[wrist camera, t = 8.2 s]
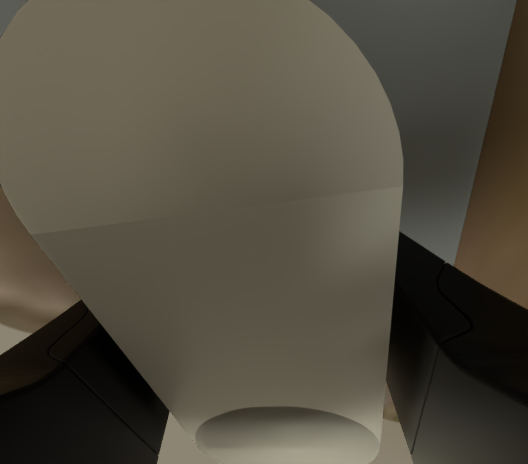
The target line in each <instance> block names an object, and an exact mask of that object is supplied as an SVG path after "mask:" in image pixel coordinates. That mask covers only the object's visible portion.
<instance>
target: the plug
mask: <svg viewBox="0 0 528 464" xmlns="http://www.w3.org/2000/svg"><path fill="white" fill-rule="evenodd" d="M0 184H1V187H2V189H3V191H4V194H5V196H6V197H7V199H8V201H9V203H10V205H11V206H12V208H13V210H14V212H15V213H16V215H17V217H18V218H19V219H20V221H21V222H22V224H23V225H24V226H25V228H26V229H27V231H28V232H29V233H30V235H31V236H32V237H33V239H34V240H35V241H36V242H37V244H38V245H39V246H40V248H41V249H42V250H43V251H44V253H45V254H46V255H47V256H48V258H49V259H50V260H51V261H52V263H53V264H54V265H55V267H56V268H57V269H58V270H59V272H60V273H61V274H62V275H63V277H64V278H65V279H66V280H67V282H68V283H69V284H70V285H71V287H72V288H73V289H74V291H75V292H76V293H77V294H78V296H79V297H80V298H81V299H82V301H83V302H84V303H85V304H86V306H87V307H88V308H89V310H90V311H91V312H92V313H93V315H94V316H95V317H96V318H97V320H98V321H99V322H100V323H101V325H102V326H103V327H104V329H105V330H106V331H107V332H108V334H109V335H110V336H111V337H112V339H113V340H114V341H115V342H116V344H117V345H118V346H119V348H120V349H121V350H122V351H123V353H124V354H125V355H126V356H127V358H128V359H129V360H130V361H131V363H132V364H133V365H134V367H135V368H136V369H137V370H138V372H139V373H140V374H141V375H142V377H143V378H144V379H145V380H146V382H147V383H148V384H149V385H150V387H151V388H152V389H153V391H154V392H155V393H156V394H157V396H158V397H159V398H160V399H161V401H162V402H163V403H164V404H165V406H166V407H167V408H168V410H169V411H170V412H171V413H172V415H173V416H174V417H175V418H176V419H177V421H178V422H179V423H180V425H181V426H182V427H183V429H184V430H185V431H186V432H187V434H188V435H189V436H190V437H191V438H192V440H193V441H194V442H195V444H196V445H197V446H198V447H199V449H200V450H201V451H202V452H203V453H204V454H206V455H207V456H208V457H210V458H211V459H213V460H215V461H217V462H219V463H221V464H369V463H370V462H371V461H373V459H375V458H376V456H377V455H378V453H379V449H380V441H381V429H382V418H383V407H384V396H385V384H386V373H387V362H388V351H389V339H390V328H391V317H392V305H393V294H394V283H395V272H396V260H397V249H398V238H399V227H400V215H401V204H402V193H403V154H402V147H401V140H400V133H399V130H398V126H397V123H396V120H395V117H394V113H393V110H392V107H391V103H390V101H389V99H388V97H387V95H386V93H385V91H384V89H383V87H382V85H381V83H380V81H379V79H378V76H377V74H376V73H375V71H374V70H373V68H372V67H371V65H370V64H369V62H368V61H367V60H366V58H365V57H364V55H363V54H362V52H361V51H360V49H359V48H358V46H357V45H356V44H355V43H354V41H353V40H352V39H351V38H350V37H349V36H348V35H347V34H346V33H345V32H344V31H343V30H342V29H341V28H340V27H339V26H338V25H337V23H336V22H335V21H334V20H333V19H332V18H331V17H330V16H329V15H328V14H326V13H325V12H324V11H322V10H321V9H320V8H319V7H317V6H316V5H315V4H313V3H312V2H311V1H310V0H28V1H27V2H26V3H25V4H24V5H23V6H22V7H21V8H20V9H19V10H18V11H17V13H16V14H15V16H14V18H13V19H12V21H11V22H10V24H9V25H8V27H7V28H6V30H5V32H4V33H3V35H2V36H1V38H0Z"/></svg>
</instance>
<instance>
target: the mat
mask: <svg viewBox="0 0 528 464" xmlns="http://www.w3.org/2000/svg"><path fill="white" fill-rule="evenodd" d="M27 1H28V0H0V38H1V36H2V35H3V33H4V32H5V30H6V28H7V27H8V25H9V24H10V22H11V21H12V19H13V18H14V16H15V14H16V13H17V11H18V10H19V9H20V8H21V7H22V6H23V5H24V4H25V3H26V2H27ZM310 1H311V2H312V3H313V4H315V5H316V6H317V7H319V8H320V9H321V10H322V11H324V12H325V13H326V14H328V15H329V16H330V17H331V18H332V19H333V20H334V21H335V22H336V23H337V25H338V26H339V27H340V28H341V29H342V30H343V31H344V32H345V33H346V34H347V35H348V36H349V37H350V38H351V39H352V40H353V41H354V43H355V44H356V45H357V46H358V48H359V49H360V51H361V52H362V54H363V55H364V57H365V58H366V60H367V61H368V62H369V64H370V65H371V67H372V68H373V70H374V71H375V73H376V74H377V76H378V79H379V81H380V83H381V85H382V87H383V89H384V91H385V93H386V95H387V97H388V99H389V101H390V103H391V107H392V110H393V113H394V117H395V120H396V123H397V126H398V130H399V133H400V140H401V147H402V154H403V193H402V204H401V215H400V227H399V231H400V232H402V233H403V234H405V235H406V236H408V237H409V238H411V239H412V240H414V241H415V242H417V243H419V244H420V245H422V246H423V247H425V248H426V249H428V250H429V251H431V252H432V253H434V254H435V255H437V256H438V257H440V258H441V259H443V260H444V261H445V262H446V263H449V264H451V265H452V266H454V262H455V258H456V254H457V250H458V246H459V241H460V237H461V233H462V229H463V225H464V220H465V216H466V212H467V208H468V204H469V199H470V195H471V191H472V187H473V183H474V178H475V174H476V170H477V166H478V161H479V157H480V153H481V149H482V145H483V140H484V136H485V132H486V128H487V124H488V119H489V115H490V111H491V107H492V103H493V98H494V94H495V90H496V86H497V82H498V77H499V73H500V69H501V65H502V61H503V56H504V52H505V48H506V44H507V40H508V35H509V31H510V27H511V23H512V18H513V14H514V10H515V6H516V2H517V0H310Z"/></svg>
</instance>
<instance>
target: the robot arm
mask: <svg viewBox="0 0 528 464" xmlns="http://www.w3.org/2000/svg"><path fill="white" fill-rule="evenodd" d="M386 382H387V385H388V388H389V391H390V394H391V397H392V400H393V403H394V406H395V409H396V412H397V415H398V418H399V421H400V424H401V427H402V430H403V433H404V436H405V439H406V442H407V445H408V448H409V451H410V454H411V455H412V460H413V463H414V464H528V309H526V308H524V307H522V306H520V305H518V304H517V303H515V302H513V301H511V300H509V299H507V298H506V297H504V296H502V295H500V294H498V293H497V292H495V291H493V290H491V289H490V288H488V287H486V286H484V285H483V284H481V283H479V282H478V281H476V280H474V279H473V278H471V277H470V276H468V275H466V274H465V273H463V272H462V271H460V270H458V269H457V268H455V267H454V266H452V265H451V264H449V263H446V262H445V261H444V260H443V259H441V258H440V257H438V256H437V255H435V254H434V253H432V252H431V251H429V250H428V249H426V248H425V247H423V246H422V245H420V244H419V243H417V242H415V241H414V240H412V239H411V238H409V237H408V236H406V235H405V234H403V233H402V232H400V231H399V238H398V249H397V260H396V272H395V283H394V294H393V305H392V317H391V328H390V339H389V351H388V362H387V373H386ZM168 415H169V410H168V408H167V407H166V406H165V404H164V403H163V402H162V401H161V399H160V398H159V397H158V396H157V394H156V393H155V392H154V391H153V389H152V388H151V387H150V385H149V384H148V383H147V382H146V380H145V379H144V378H143V377H142V375H141V374H140V373H139V372H138V370H137V369H136V368H135V367H134V365H133V364H132V363H131V361H130V360H129V359H128V358H127V356H126V355H125V354H124V353H123V351H122V350H121V349H120V348H119V346H118V345H117V344H116V342H115V341H114V340H113V339H112V337H111V336H110V335H109V334H108V332H107V331H106V330H105V329H104V327H103V326H102V325H101V323H100V322H99V321H98V320H97V318H96V317H95V316H94V315H93V313H92V312H91V311H90V310H89V308H88V307H87V306H86V304H85V303H84V302H83V301H82V299H81V300H80V301H79V302H77V303H76V304H75V305H73V306H72V307H70V308H69V309H68V310H66V311H65V312H64V313H62V314H61V315H59V316H58V317H57V318H55V319H54V320H52V321H51V322H49V323H48V324H46V325H45V326H43V327H42V328H40V329H39V330H37V331H36V332H34V333H33V334H31V335H30V336H29V337H27V338H26V339H24V340H23V341H21V342H19V343H18V344H16V345H15V346H13V347H12V348H10V349H9V350H8V351H6V352H4V353H3V354H1V355H0V464H157V461H158V454H159V451H160V448H161V444H162V440H163V436H164V432H165V427H166V424H167V419H168Z"/></svg>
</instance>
